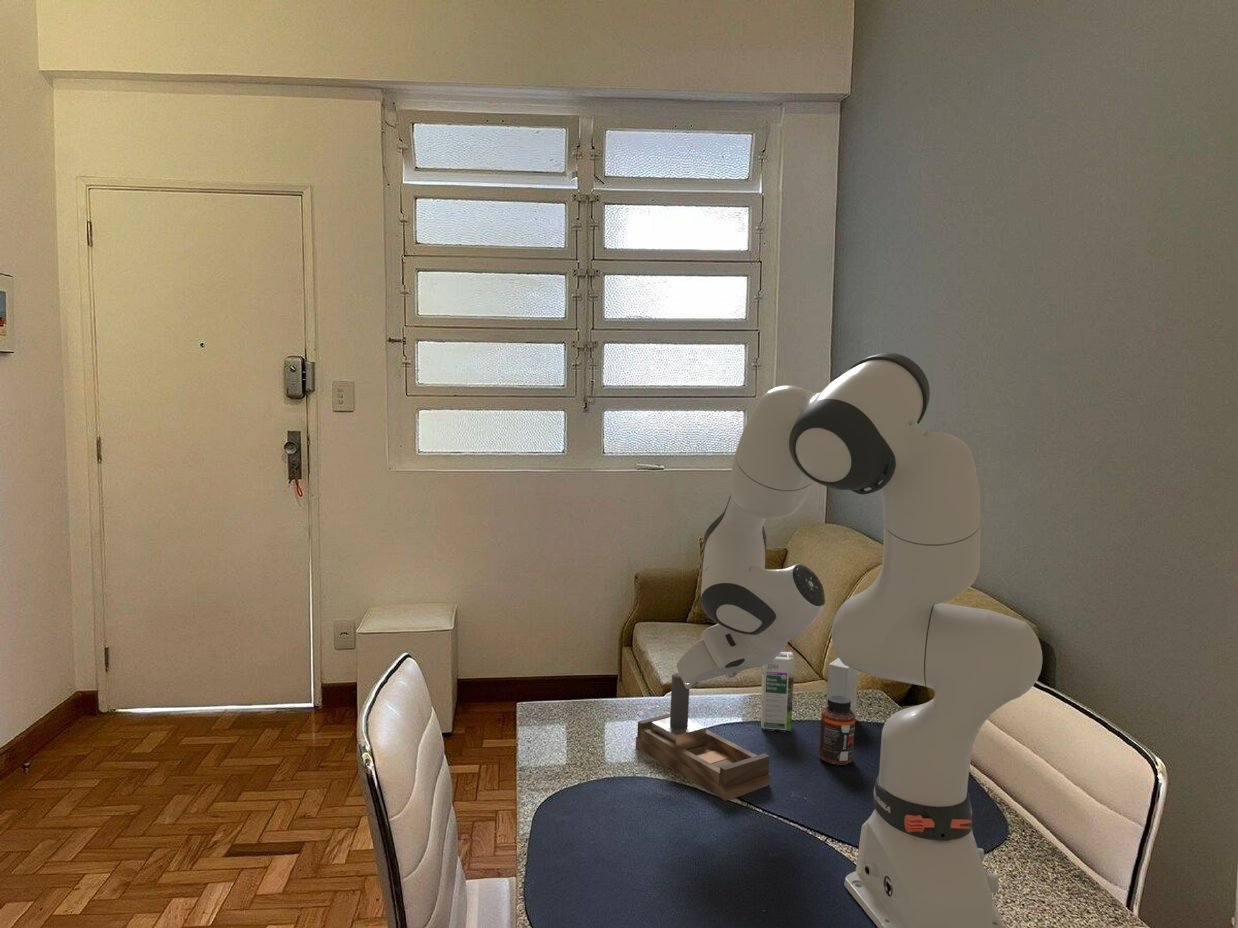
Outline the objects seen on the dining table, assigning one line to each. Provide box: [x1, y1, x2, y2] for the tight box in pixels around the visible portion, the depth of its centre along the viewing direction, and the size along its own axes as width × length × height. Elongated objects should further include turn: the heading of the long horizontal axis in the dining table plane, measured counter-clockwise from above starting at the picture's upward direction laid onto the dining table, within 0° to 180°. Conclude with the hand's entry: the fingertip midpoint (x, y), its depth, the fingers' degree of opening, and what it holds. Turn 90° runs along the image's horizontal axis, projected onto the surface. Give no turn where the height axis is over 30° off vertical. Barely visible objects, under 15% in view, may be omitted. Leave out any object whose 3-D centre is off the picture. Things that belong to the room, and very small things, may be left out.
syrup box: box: [759, 651, 795, 731], centre depth 169 cm, size 6×6×14 cm
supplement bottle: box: [818, 695, 856, 765], centre depth 154 cm, size 6×6×11 cm
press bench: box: [635, 713, 771, 801], centre depth 150 cm, size 24×10×5 cm, turn 36°
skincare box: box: [825, 657, 859, 717], centre depth 173 cm, size 6×4×12 cm
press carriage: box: [651, 672, 707, 749], centre depth 154 cm, size 7×7×12 cm
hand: (708, 678), depth 147 cm, fingers open, 8 cm apart
